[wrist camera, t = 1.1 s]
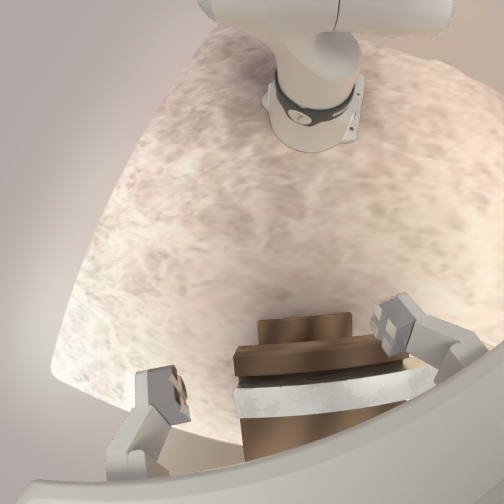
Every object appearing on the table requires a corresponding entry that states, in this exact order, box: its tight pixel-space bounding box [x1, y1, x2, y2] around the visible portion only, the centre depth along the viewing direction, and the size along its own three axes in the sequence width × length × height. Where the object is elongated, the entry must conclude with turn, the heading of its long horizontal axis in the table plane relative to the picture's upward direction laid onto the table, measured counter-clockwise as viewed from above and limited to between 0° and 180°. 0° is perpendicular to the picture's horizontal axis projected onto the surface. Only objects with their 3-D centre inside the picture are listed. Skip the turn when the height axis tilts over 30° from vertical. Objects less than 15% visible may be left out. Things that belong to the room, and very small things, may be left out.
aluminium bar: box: [234, 341, 495, 418], centre depth 26 cm, size 26×3×3 cm, turn 95°
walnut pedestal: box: [233, 312, 409, 462], centre depth 39 cm, size 16×20×28 cm
